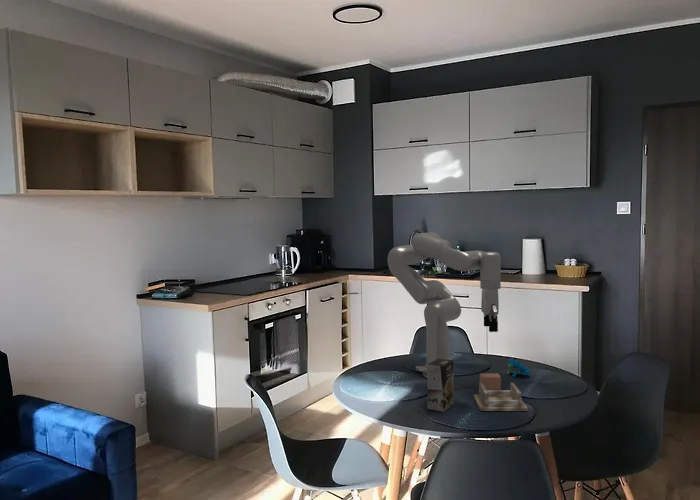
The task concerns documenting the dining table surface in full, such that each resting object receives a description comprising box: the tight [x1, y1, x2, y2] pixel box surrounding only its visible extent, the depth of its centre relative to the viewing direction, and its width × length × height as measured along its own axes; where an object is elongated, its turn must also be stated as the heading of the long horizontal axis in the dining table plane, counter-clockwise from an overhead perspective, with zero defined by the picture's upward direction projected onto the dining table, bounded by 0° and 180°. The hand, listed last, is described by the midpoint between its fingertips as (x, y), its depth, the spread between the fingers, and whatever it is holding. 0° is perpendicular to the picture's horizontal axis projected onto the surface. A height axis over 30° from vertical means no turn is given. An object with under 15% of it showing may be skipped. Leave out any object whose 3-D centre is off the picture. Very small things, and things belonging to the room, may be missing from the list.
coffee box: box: [427, 359, 454, 413], centre depth 200 cm, size 9×6×16 cm
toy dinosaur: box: [506, 358, 532, 378], centre depth 234 cm, size 11×6×10 cm
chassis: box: [473, 382, 529, 412], centre depth 202 cm, size 16×14×6 cm
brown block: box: [479, 372, 502, 390], centre depth 218 cm, size 7×5×6 cm
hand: (490, 328), depth 217 cm, fingers open, 9 cm apart
